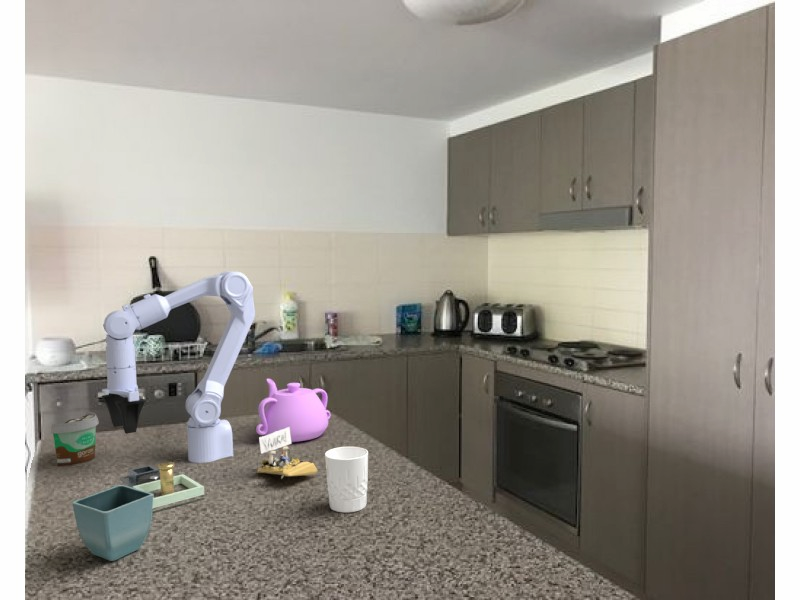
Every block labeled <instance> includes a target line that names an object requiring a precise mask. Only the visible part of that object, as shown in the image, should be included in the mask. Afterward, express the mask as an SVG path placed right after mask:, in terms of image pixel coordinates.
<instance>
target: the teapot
mask: <svg viewBox="0 0 800 600" xmlns="http://www.w3.org/2000/svg"><path fill="white" fill-rule="evenodd" d="M266 382H267V386H268V397H266V398H264V399H262V400H261V401H260V402H259V403H258V406H257V407H258V408H257V410H258V411H257V412H258V415H259V419H260V423H258V424H257V425H256V428H255V432H256V434H258V435H260V436H265V435H269V434H272V433H273V432H275V431H279V430H282V429H285V428H287V427H290V435H291V443H292V444H293V443H298V442H303V441H309V440H314V439H316V438H319V437H320V436H322V435H323V433H324V432H325V431H326V430H327V429H328V427H329V420H330V418H331V416H332V415H331V412H330V410H328V409H327V406H328V398H329V397H328V393H327V392H326V390H324V389H323V388H314V389H311V388H305V387H301V383H299V382H290V383H287V384H286V387H287V388H283V389H279V390H278V388H277V384H276V383H275V381H274V380H273V379H271V378H270V377H269V378H266ZM317 394H321V399H320V398H319V395H317Z"/></svg>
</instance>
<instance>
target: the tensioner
mask: <svg viewBox="0 0 800 600" xmlns="http://www.w3.org/2000/svg"><path fill="white" fill-rule="evenodd" d="M127 471H128V477H125V478H121V479H120V480H121V481H122V482H123V483H125V484H126V486H128V487H131V488H133V486H136V485H140V484H144V483H149V482H153V481H157V480H160V470H159V469H158V468H156V467H154V466H153V465H151V464H149V465H144V466H140V467H135V468H132V469H127Z"/></svg>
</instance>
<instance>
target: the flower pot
mask: <svg viewBox="0 0 800 600" xmlns="http://www.w3.org/2000/svg"><path fill="white" fill-rule="evenodd" d="M153 497H154V498H155V495H154V493H153V492H151V491H149V492H145V491H142V490H138V489H134V488H131V487H130V486H129V485H123V484H119V485H115V486H112V487H110V488H107V489H105V490H101V491H100V492H96V493H93V494H90V495H88V496H85V497H82V498H80V499H76V500H73V501H72V502H71V504H72V509H73V514H74V518H75V522H76V528H77V530H78V534H79V536H80V539H81V540H82V542H83V544H84V545H85V546H86V548H87V549H88V551H90V552H91V554H92V555H94V556H97V557H100V558H101V559H104V560H107V561H110V562H114V561H117V560H119V559H121V558H123V557H125V556H127V555H129V554H132V553H134V552H136V551H138V550H139V549H140V548H141V547H142V545H144V544H143V543H144V542H145V541H146V538H147V536H148V534H149V532H150V529H151V525H152V519H153V514H152V512H153V509H154V508H153Z"/></svg>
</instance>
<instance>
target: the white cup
mask: <svg viewBox="0 0 800 600" xmlns="http://www.w3.org/2000/svg"><path fill="white" fill-rule="evenodd" d="M324 456H325V457H324V459H325V472H326V473H325V474H326V484H327V493H328V501H329V507H330V509H331V510H332V511H334V512H338V513H355V512H358V511H361V510H363V509H365V508H366V506H367V504H368V503H367V499H368V498H367V496H368V493H367V492H368V478H369V476H368V475H369V473H368V472H369V451H368V450H367V449H366V448H363V447H360V446H341V447H340V446H339V447H335V448H331V449H329V450H327V451H325V453H324Z"/></svg>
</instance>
